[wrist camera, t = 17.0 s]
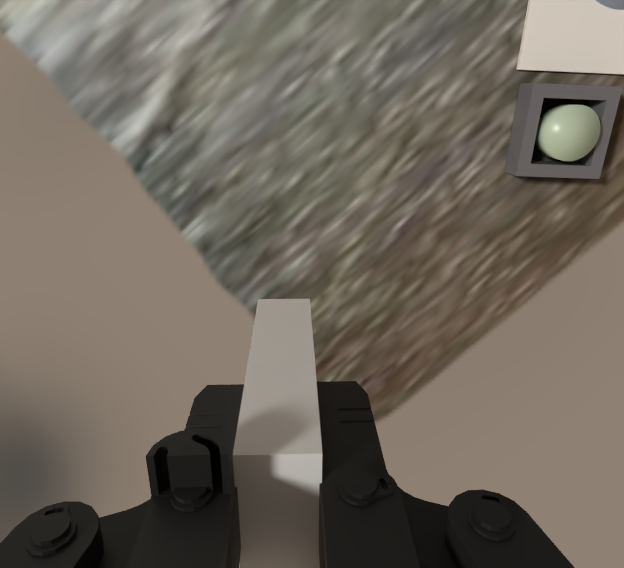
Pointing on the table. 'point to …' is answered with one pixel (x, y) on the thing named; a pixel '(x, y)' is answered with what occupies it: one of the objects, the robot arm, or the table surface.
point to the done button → (567, 132)
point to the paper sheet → (573, 36)
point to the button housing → (528, 119)
